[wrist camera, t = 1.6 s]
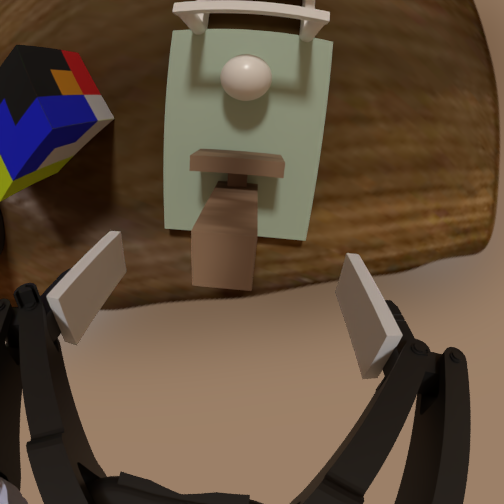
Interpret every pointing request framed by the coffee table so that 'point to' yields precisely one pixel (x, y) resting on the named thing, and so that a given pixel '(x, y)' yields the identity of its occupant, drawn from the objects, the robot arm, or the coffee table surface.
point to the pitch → (246, 112)
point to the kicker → (229, 218)
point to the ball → (246, 77)
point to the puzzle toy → (44, 114)
